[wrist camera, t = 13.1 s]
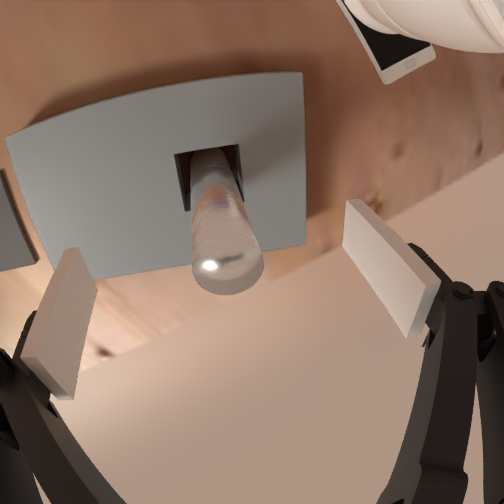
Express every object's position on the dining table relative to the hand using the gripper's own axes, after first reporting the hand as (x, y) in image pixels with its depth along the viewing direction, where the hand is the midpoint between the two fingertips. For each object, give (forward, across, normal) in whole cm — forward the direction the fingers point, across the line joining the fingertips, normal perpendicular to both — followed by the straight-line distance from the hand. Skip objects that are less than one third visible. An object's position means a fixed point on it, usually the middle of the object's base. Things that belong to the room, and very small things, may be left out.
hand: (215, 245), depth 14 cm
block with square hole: (+12, -4, 0) cm, 13 cm away
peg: (+12, 0, 0) cm, 12 cm away
